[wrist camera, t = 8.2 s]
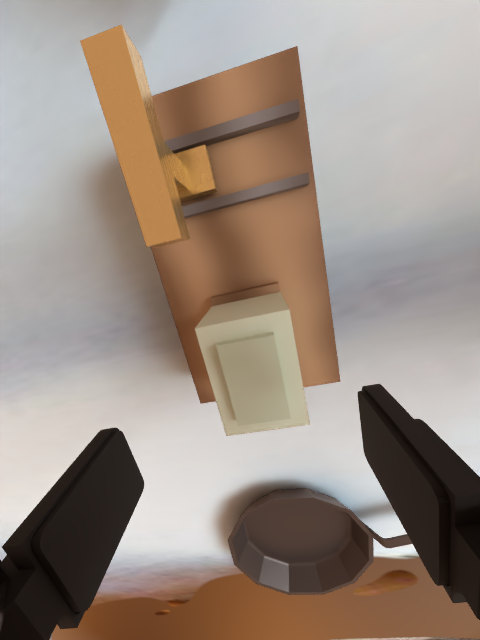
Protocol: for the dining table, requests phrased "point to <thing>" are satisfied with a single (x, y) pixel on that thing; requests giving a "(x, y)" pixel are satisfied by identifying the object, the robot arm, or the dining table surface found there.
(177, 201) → the key
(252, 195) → the board
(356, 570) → the frying pan
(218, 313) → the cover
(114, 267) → the dining table surface
